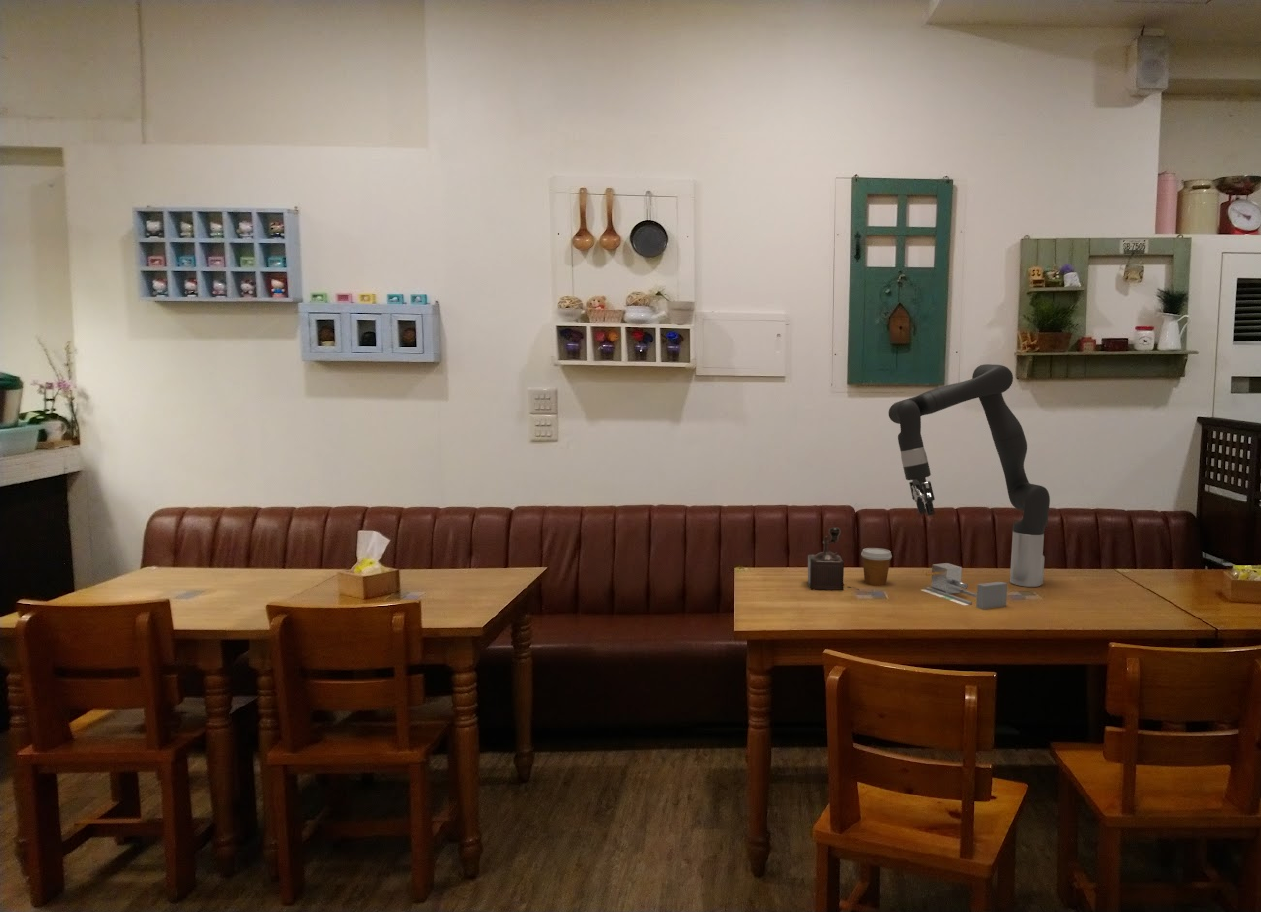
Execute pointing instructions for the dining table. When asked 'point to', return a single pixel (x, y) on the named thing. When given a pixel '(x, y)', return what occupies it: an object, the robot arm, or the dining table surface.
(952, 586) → the gauge carriage
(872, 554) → the disposable coffee cup
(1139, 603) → the dining table surface
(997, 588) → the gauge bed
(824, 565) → the manual coffee grinder
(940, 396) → the robot arm
